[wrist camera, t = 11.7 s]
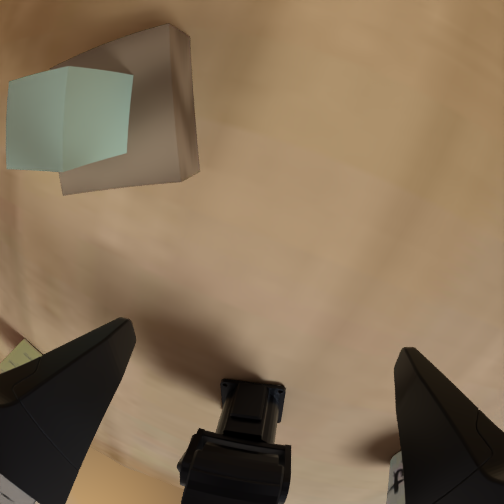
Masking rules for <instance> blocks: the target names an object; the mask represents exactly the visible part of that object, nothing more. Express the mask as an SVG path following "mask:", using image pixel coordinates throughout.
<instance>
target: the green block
mask: <svg viewBox="0 0 504 504" xmlns="http://www.w3.org/2000/svg"><path fill="white" fill-rule="evenodd" d="M133 76H134V75H130V74H124V73H118V72H112V71H105V70H98V69H91V68H82V67H73V66H67V67H62V68H57V69H53V70H49V71H45V72H41V73H37V74H33V75H29V76H26V77H22V78H19V79H16V80H12V81H9V88H8V99H7V115H6V164H7V169H18V170H37V171H52V172H65V171H68V170H71V169H74V168H77V167H80V166H84V165H87V164H90V163H93V162H97V161H100V160H104V159H107V158H111V157H114V156H118V155H122V154H125V153H127V139H128V124H129V112H130V101H131V92H132V83H133Z"/></svg>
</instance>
